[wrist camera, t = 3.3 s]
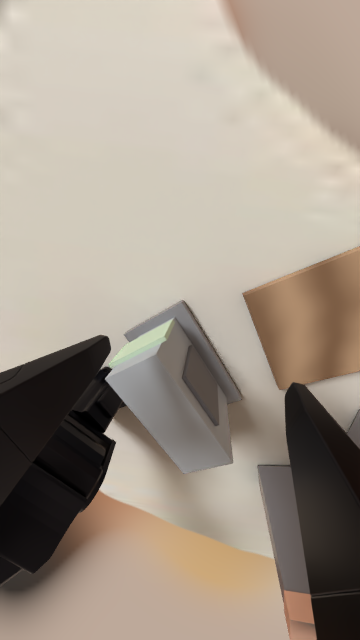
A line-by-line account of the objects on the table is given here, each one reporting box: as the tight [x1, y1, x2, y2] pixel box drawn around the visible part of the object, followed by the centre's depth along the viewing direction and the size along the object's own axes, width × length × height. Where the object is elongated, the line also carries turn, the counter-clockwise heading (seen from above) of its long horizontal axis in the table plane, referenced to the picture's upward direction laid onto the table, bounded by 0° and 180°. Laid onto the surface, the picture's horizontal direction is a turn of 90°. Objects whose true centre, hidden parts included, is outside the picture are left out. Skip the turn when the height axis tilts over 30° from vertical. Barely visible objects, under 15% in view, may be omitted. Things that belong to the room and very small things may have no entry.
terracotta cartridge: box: [258, 466, 317, 640], centre depth 22 cm, size 5×5×12 cm
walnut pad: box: [242, 246, 360, 390], centre depth 18 cm, size 12×12×1 cm
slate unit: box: [105, 300, 242, 474], centre depth 19 cm, size 8×14×8 cm, turn 31°
